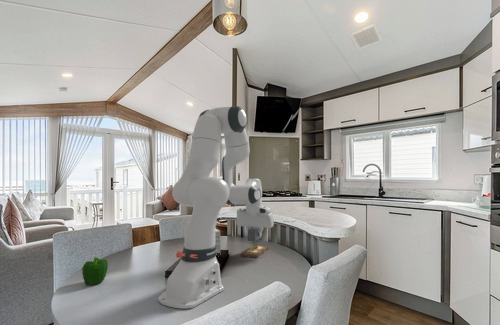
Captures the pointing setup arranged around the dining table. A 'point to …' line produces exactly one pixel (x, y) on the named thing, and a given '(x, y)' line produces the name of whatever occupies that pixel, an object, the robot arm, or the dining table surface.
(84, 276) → the bell pepper
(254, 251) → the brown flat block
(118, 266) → the dining table surface
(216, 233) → the supplement box
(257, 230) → the block
